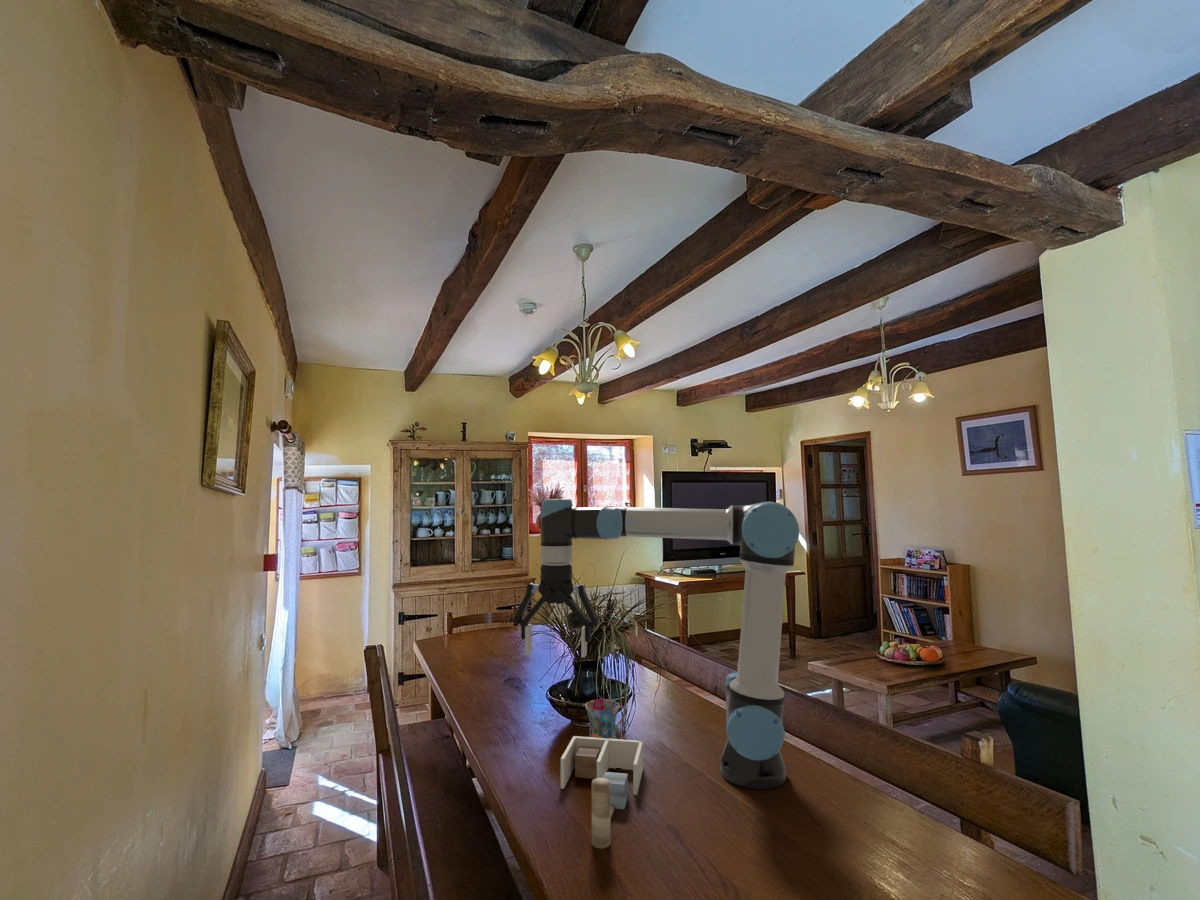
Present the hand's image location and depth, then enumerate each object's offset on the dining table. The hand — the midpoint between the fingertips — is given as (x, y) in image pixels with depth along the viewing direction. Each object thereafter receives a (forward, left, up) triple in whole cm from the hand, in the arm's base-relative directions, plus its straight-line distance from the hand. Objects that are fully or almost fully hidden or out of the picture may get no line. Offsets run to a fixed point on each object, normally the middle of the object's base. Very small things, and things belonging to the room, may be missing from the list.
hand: (555, 654), depth 137 cm
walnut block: (-3, -8, -29) cm, 30 cm away
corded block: (-19, +6, -29) cm, 35 cm away
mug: (+2, -24, -29) cm, 38 cm away
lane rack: (-8, -8, -29) cm, 31 cm away
